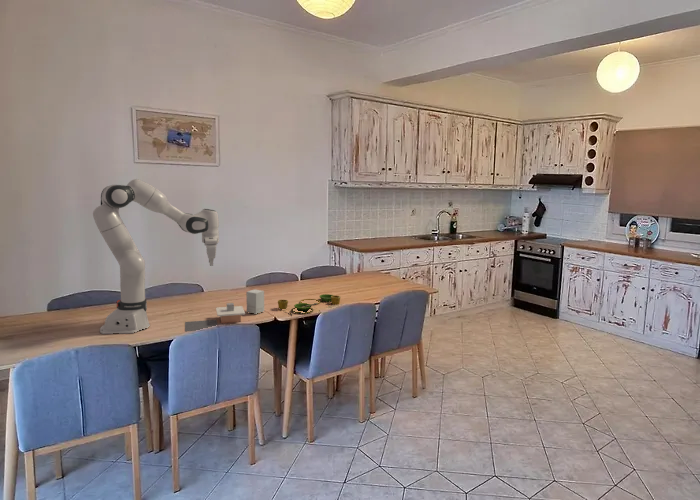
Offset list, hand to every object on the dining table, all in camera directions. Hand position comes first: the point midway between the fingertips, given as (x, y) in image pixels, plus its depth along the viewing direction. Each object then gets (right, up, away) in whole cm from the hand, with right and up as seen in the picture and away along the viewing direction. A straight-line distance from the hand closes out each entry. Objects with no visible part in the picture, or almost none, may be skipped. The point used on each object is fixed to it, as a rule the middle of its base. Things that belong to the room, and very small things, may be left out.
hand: (211, 264), depth 252 cm
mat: (-1, -32, -14) cm, 35 cm away
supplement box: (+22, -28, +12) cm, 38 cm away
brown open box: (+12, -30, -4) cm, 33 cm away
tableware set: (+52, -27, +29) cm, 66 cm away
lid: (+12, -25, -5) cm, 28 cm away
